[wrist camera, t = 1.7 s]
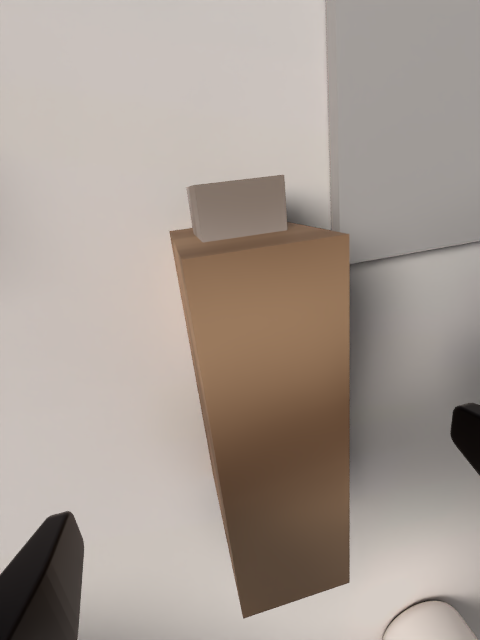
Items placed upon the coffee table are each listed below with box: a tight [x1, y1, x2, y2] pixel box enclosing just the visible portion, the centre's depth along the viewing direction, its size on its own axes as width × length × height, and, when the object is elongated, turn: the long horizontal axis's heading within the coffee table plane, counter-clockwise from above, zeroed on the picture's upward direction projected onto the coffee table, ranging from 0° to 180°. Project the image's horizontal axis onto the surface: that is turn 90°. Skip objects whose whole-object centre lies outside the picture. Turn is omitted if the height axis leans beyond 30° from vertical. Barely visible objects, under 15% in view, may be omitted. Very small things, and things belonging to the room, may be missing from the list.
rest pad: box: [325, 0, 480, 264], centre depth 11 cm, size 12×6×1 cm, turn 7°
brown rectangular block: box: [170, 175, 349, 618], centre depth 10 cm, size 11×3×6 cm, turn 7°
